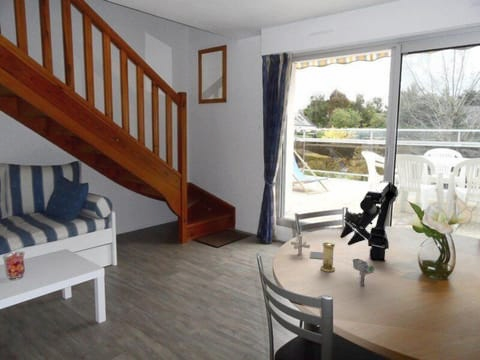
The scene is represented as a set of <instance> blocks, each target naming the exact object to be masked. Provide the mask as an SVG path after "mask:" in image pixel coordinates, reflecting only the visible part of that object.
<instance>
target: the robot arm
mask: <svg viewBox="0 0 480 360" xmlns="http://www.w3.org/2000/svg"><path fill="white" fill-rule="evenodd" d="M397 197H399V189H398V186H396V185H394V184H393V183H392V181H388V180H381V181H380V183H379V184H378V185H377V186H376V188H374V189H370V190H368V191H367V192H366V193H365V195H364V197H363V198H362V200H361V202H360V203H359V207H360V209H361V210H362V212H358V213H356V212H352V211H349V210H346V211H345V214H344V215H343V216H344V218H343V220H344V221H343V223H344V228H343V229H342V231H341V234H340V238H341V239H343V238H345V237H347V236H348V235H350V234H351V233H353V232H354V233H353V235H352V237H351V238H350V240H349V241H348V242H347V246H352V245H353V244H357V243H359V242H363V241H367V245H368V247H370V248H369V259H370V260H371V261H378V262H386V259H385V257H386V250H389V247H390V245H389V244H390V242H389V240H388V239H389V238H388V235H387V232H386V227H387V224H388V218H389V214H390V209H391V206H392V204H393V203H395V202H396V200H397ZM379 205H380V206H379ZM376 217H377V219H376V222H375V223H376V224H375V226H373V227H371V228H370V232H369V231H368V230H367V228H368V226H369V225H371V226H372V225H373V221H374V220H375V218H376Z"/></svg>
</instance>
